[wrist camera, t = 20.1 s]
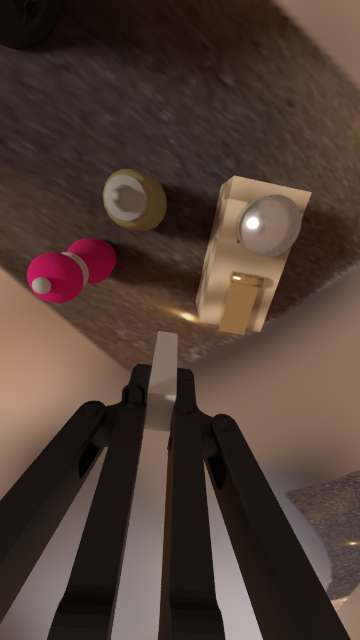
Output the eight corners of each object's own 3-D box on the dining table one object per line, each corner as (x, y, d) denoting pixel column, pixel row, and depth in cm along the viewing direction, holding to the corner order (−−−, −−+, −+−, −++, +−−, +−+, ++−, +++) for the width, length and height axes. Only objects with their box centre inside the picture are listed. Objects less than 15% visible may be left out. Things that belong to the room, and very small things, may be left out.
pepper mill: (121, 241, 41) (73, 261, 23) (117, 280, 44) (71, 325, 26) (80, 231, 40) (-3, 244, 22) (78, 271, 43) (3, 312, 25)
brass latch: (231, 270, 33) (234, 272, 31) (261, 275, 33) (265, 277, 32) (216, 327, 36) (218, 331, 35) (243, 332, 37) (246, 336, 35)
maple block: (221, 185, 37) (234, 175, 28) (280, 198, 38) (311, 192, 29) (195, 300, 45) (199, 321, 36) (244, 309, 46) (260, 332, 37)
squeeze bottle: (177, 196, 38) (174, 181, 22) (152, 239, 41) (133, 255, 24) (134, 164, 36) (95, 122, 20) (111, 212, 39) (60, 209, 23)
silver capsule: (230, 197, 36) (252, 189, 25) (272, 205, 37) (310, 201, 26) (220, 241, 39) (235, 252, 28) (259, 249, 40) (288, 261, 29)
